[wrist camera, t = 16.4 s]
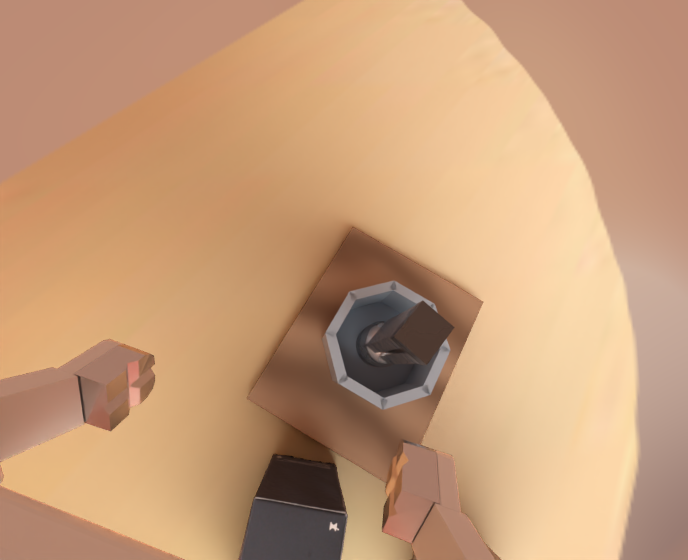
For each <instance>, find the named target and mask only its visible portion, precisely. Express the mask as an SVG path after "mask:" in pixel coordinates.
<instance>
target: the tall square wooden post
mask: <svg viewBox="0 0 688 560" xmlns="http://www.w3.org/2000/svg"><path fill="white" fill-rule="evenodd" d="M454 328H455V327H454V326H452V325H451V324H450V323H449V322H448V321H447V320H445V319H444V318H443V317H442V316H441V315H440V314H438V313H437V312H436V311H435V310H434V309H432V308H431V307H430V306H429V305H428V304H427V303H425V302H424V301H421V302H419V303H417V304H416V305H415V306H413V307H411V308H409V309H408V310H406V311H404V312H402V313H400V314H398V315H397V316H395V317H393V318H391V319H389V320H387V321H386V322H384V321H379V322H375V323H372V324H370V325H369V326H367V327H366V328H364V329H363V330H362V331H361V332H360V334H359V335H358V338H357V341H356V349H357V353H358V355H359V357H360V358H361V360H362V361H363V362H364V363H366V364H367V365H369V366H372V367H389V366H392V365H394V364H420V365H427V364H428V363H429V361H430V360H431V359H432V357H433V356H434V355H435V353H436V352H437V351H438V349H439V348H440V347H441V345H442V344H443V343H444V341H445V340H446V339H447V337H448V336H449V334H450V333H451V332H452V330H453V329H454Z"/></svg>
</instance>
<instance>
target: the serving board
mask: <svg viewBox="0 0 688 560" xmlns="http://www.w3.org/2000/svg"><path fill="white" fill-rule="evenodd" d="M390 281H396V282H398V283H399V284H401V285H403V286H405V287H406V288H408V289H410V290H411V291H413V292H415V293H417V294H418V295H420V296H422V297H424V298H425V299H427V300H429V301H430V302H432V303H434V304H435V306H436V309H437V312H438V314H440V315H441V316H442V317H443V318H444V319H445V320H447V321H448V322H449V323H450V324H451V325H452V326H454V327H455V328H454V329H453V330H452V332H451V333H450V334H449V336H448V337H447V341H448V344H449V347H450V353H449V355H448V357H447V359H446V361H445V364H444V366H443V368H442V370H441V372H440V375H439V377H438V379H437V381H436V383H435V386H434V388H433V390H432V392H431V394H430V395H429V396H425V397H422V398H419V399H416V400H413V401H409V402H406V403H403V404H400V405H397V406H394V407H390V408H387V409H384V410H382V409H380V408H378V407H377V406H375V405H373V404H371V403H369V402H368V401H366V400H364V399H363V398H361V397H359V396H358V395H356V394H354V393H353V392H351V391H349V390H348V389H346V388H344V387H343V386H341V385H339V384H338V383H336V382H334V381H332V377H331V373H330V370H329V366H328V362H327V358H326V354H325V350H324V346H323V342H322V338H323V336H324V334H325V333H326V331H327V329H328V327H329V326H330V324H331V322H332V321H333V319H334V317H335V315H336V314H337V312H338V310H339V309H340V307H341V305H342V303H343V302H344V300H345V298H346V297H347V295H348V293H349V291H353V290H357V289H361V288H365V287H369V286H373V285H378V284H382V283H386V282H390ZM482 304H483V301H481V300H479V299H478V298H476V297H474V296H472V295H471V294H469V293H467V292H466V291H464V290H462V289H460V288H459V287H457V286H455V285H453V284H452V283H450V282H448V281H446V280H445V279H443V278H441V277H439V276H438V275H436V274H434V273H432V272H431V271H429V270H427V269H425V268H424V267H422V266H420V265H419V264H417V263H415V262H413V261H412V260H410V259H408V258H406V257H405V256H403V255H401V254H399V253H398V252H396V251H394V250H392V249H391V248H389V247H387V246H385V245H384V244H382V243H380V242H379V241H377V240H375V239H373V238H372V237H370V236H368V235H366V234H365V233H363V232H361V231H359V230H358V229H356V228H354V227H353V228H352V229H351V231H350V233H349V234H348V236H347V237H346V239H345V241H344V242H343V244H342V245H341V247H340V249H339V250H338V252H337V253H336V255H335V257H334V258H333V260H332V262H331V263H330V265H329V266H328V268H327V270H326V271H325V273H324V274H323V276H322V278H321V279H320V281H319V282H318V284H317V286H316V287H315V289H314V291H313V292H312V294H311V295H310V297H309V299H308V300H307V302H306V303H305V305H304V307H303V308H302V310H301V312H300V313H299V315H298V316H297V318H296V320H295V321H294V323H293V324H292V326H291V328H290V329H289V331H288V332H287V334H286V336H285V337H284V339H283V341H282V342H281V344H280V345H279V347H278V349H277V350H276V352H275V353H274V355H273V357H272V358H271V360H270V361H269V363H268V365H267V366H266V368H265V370H264V371H263V373H262V374H261V376H260V378H259V379H258V381H257V382H256V384H255V386H254V387H253V389H252V390H251V392H250V394H249V395H248V397H247V399H248V400H250V401H252V402H253V403H255V404H257V405H258V406H260V407H261V408H263V409H265V410H266V411H268V412H270V413H271V414H273V415H275V416H276V417H278V418H280V419H281V420H283V421H285V422H286V423H288V424H290V425H291V426H293V427H295V428H296V429H298V430H300V431H301V432H303V433H305V434H306V435H308V436H309V437H311V438H313V439H314V440H316V441H318V442H319V443H321V444H323V445H324V446H326V447H328V448H329V449H331V450H333V451H334V452H336V453H338V454H339V455H341V456H343V457H344V458H346V459H348V460H349V461H351V462H352V463H354V464H356V465H357V466H359V467H361V468H362V469H364V470H366V471H367V472H369V473H371V474H372V475H374V476H376V477H377V478H379V479H381V480H382V481H384V482H386V480H387V474H388V471H389V467H390V464H391V461H392V459H393V457H395V456H397V447H398V445H399V443H400V441H401V440H402V439H403V440H406V441H409V442H412V443H416V444H419V445H420V444H421V441H422V439H423V437H424V435H425V432H426V430H427V428H428V426H429V423H430V421H431V419H432V417H433V414H434V412H435V410H436V408H437V405H438V403H439V401H440V399H441V396H442V394H443V392H444V390H445V387H446V385H447V383H448V381H449V378H450V376H451V374H452V371H453V369H454V367H455V365H456V362H457V360H458V358H459V356H460V353H461V351H462V349H463V347H464V344H465V342H466V340H467V338H468V335H469V333H470V331H471V329H472V326H473V324H474V322H475V320H476V317H477V315H478V313H479V311H480V308H481V306H482Z"/></svg>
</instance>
